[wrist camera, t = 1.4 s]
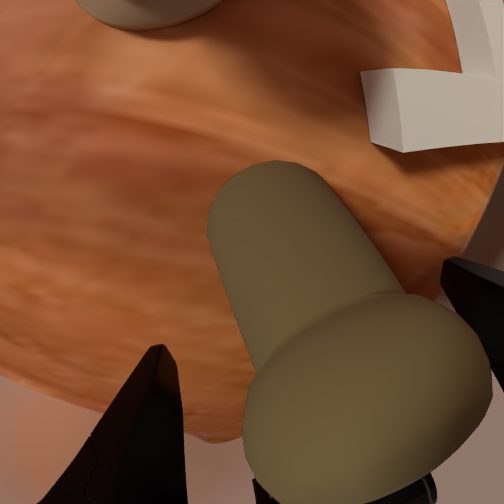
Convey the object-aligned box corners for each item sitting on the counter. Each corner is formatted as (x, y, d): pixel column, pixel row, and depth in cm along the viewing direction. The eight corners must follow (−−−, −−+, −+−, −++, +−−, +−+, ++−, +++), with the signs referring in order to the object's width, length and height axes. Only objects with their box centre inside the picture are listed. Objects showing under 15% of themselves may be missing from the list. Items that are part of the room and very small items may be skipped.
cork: (199, 165, 11) (192, 501, 1) (342, 159, 12) (578, 320, 2) (214, 291, 14) (243, 537, 4) (332, 277, 15) (446, 470, 5)
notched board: (493, 131, 12) (523, 140, 9) (370, 142, 11) (403, 152, 9) (446, -62, 5) (470, -70, 3) (299, -101, 5) (315, -125, 2)
